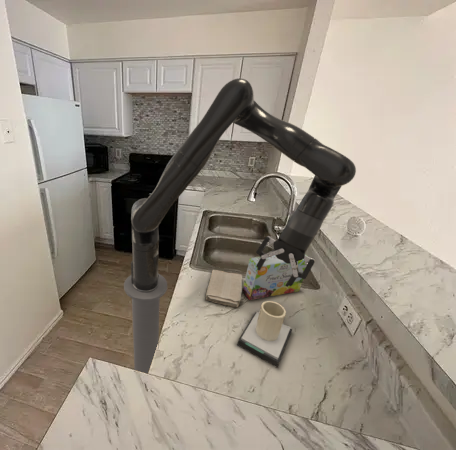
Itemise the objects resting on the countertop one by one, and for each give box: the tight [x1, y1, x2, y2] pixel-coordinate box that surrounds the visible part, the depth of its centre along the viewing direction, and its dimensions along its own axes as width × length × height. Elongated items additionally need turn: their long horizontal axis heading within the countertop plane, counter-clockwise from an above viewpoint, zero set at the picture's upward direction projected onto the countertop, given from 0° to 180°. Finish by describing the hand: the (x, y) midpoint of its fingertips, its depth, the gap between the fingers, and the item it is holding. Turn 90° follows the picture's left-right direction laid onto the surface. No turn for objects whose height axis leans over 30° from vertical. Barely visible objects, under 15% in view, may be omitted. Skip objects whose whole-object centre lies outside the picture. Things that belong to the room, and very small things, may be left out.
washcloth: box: [205, 269, 243, 308], centre depth 94 cm, size 12×18×3 cm, turn 162°
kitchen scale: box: [237, 311, 293, 368], centre depth 74 cm, size 11×14×3 cm
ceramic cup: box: [256, 300, 287, 341], centre depth 72 cm, size 6×6×9 cm
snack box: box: [242, 254, 309, 301], centre depth 91 cm, size 21×6×15 cm, turn 105°
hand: (272, 277), depth 75 cm, fingers open, 8 cm apart
